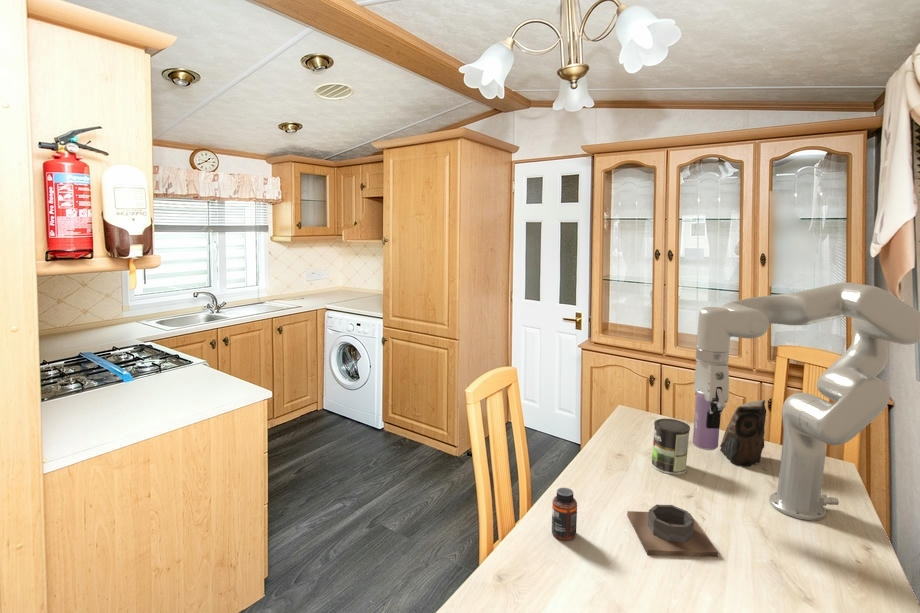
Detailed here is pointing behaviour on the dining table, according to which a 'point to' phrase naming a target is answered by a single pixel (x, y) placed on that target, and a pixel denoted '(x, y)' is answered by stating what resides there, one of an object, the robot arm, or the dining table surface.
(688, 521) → the can holder
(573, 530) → the supplement bottle
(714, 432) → the beverage can
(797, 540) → the dining table surface
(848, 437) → the robot arm
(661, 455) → the coffee can
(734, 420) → the owl
